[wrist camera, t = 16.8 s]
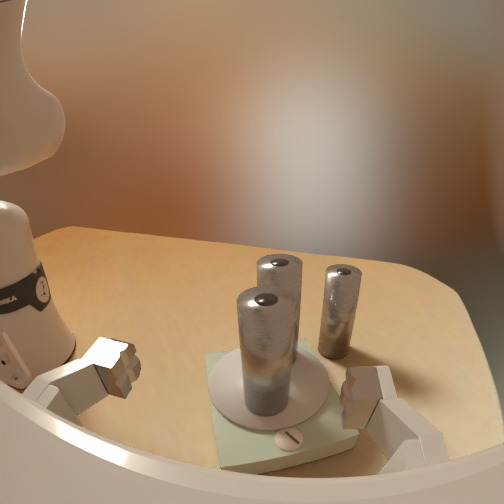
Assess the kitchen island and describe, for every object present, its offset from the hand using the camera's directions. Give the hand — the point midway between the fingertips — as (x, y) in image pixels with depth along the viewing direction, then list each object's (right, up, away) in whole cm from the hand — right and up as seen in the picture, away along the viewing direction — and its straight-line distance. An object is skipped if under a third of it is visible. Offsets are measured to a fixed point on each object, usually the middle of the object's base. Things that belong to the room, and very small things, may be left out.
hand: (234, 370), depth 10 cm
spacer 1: (+4, -8, +22) cm, 24 cm away
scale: (+3, -13, +19) cm, 23 cm away
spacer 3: (+12, -9, +28) cm, 32 cm away
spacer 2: (+2, -10, +16) cm, 19 cm away
